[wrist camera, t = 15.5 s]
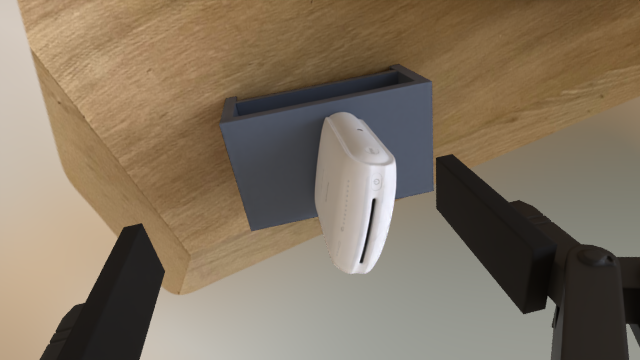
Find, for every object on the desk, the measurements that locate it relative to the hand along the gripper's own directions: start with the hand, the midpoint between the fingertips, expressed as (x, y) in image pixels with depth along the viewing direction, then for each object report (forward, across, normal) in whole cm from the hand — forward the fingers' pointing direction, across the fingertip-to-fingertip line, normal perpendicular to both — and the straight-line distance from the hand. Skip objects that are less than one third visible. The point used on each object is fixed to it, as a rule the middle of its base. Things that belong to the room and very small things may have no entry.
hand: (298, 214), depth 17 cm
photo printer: (+19, +5, -7) cm, 21 cm away
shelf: (+28, +5, -8) cm, 29 cm away
